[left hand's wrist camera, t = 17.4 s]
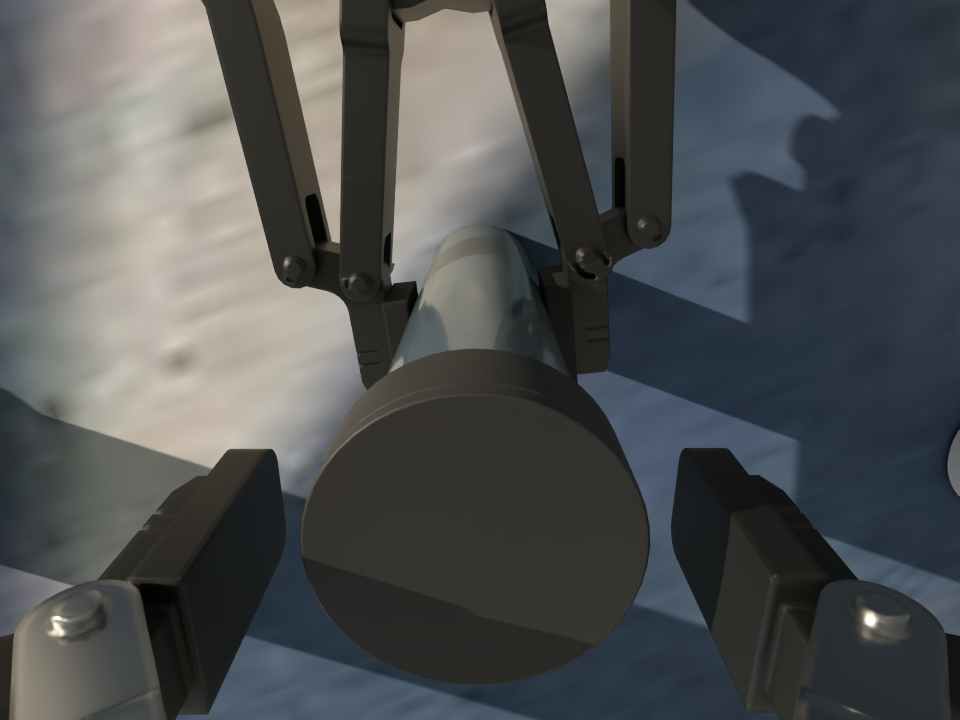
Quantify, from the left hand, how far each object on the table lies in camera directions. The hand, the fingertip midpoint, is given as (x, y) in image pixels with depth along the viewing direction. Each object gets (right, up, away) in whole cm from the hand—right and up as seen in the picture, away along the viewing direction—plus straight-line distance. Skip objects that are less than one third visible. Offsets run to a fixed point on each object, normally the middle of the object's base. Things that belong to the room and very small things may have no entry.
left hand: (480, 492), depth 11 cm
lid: (0, 0, -2) cm, 2 cm away
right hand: (+1, -1, +10) cm, 10 cm away
